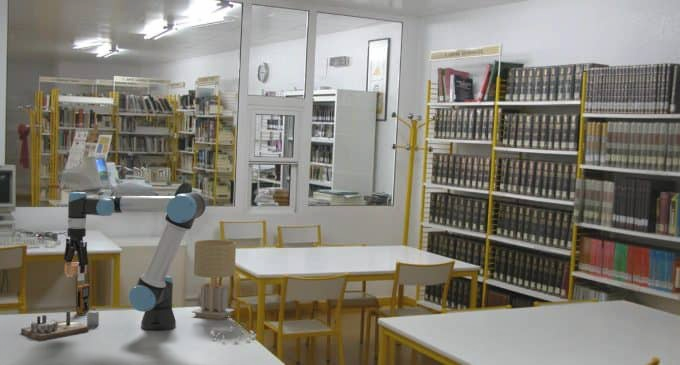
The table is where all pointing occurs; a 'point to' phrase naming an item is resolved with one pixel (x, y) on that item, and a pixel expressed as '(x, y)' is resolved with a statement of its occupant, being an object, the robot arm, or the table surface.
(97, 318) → the smooth gray pebble
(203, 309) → the desk lamp
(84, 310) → the multimeter
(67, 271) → the loose gear
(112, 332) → the table surface
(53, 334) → the gear board
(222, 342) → the game piece set
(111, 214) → the robot arm
